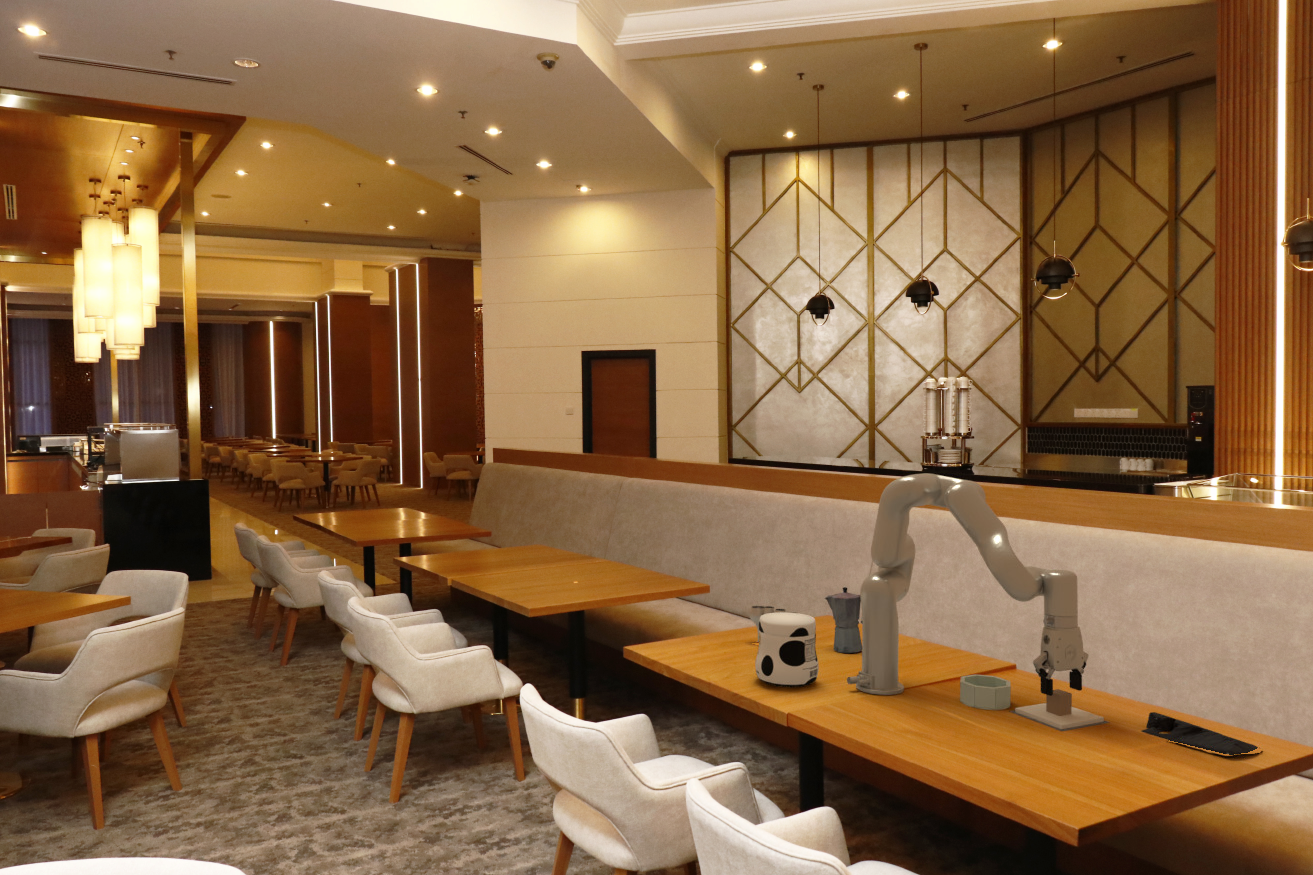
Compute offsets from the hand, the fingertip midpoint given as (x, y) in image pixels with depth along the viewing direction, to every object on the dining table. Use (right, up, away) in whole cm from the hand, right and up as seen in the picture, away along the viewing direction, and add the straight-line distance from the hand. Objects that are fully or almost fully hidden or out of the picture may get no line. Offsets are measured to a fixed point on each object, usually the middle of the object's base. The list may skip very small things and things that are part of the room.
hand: (1061, 691), depth 224 cm
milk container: (-63, -6, +30) cm, 70 cm away
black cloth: (+25, -8, -15) cm, 30 cm away
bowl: (-14, -7, +12) cm, 20 cm away
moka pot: (-38, -6, +67) cm, 77 cm away
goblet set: (-60, -6, +65) cm, 89 cm away
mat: (-1, -7, 0) cm, 7 cm away
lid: (-1, -6, 0) cm, 6 cm away
